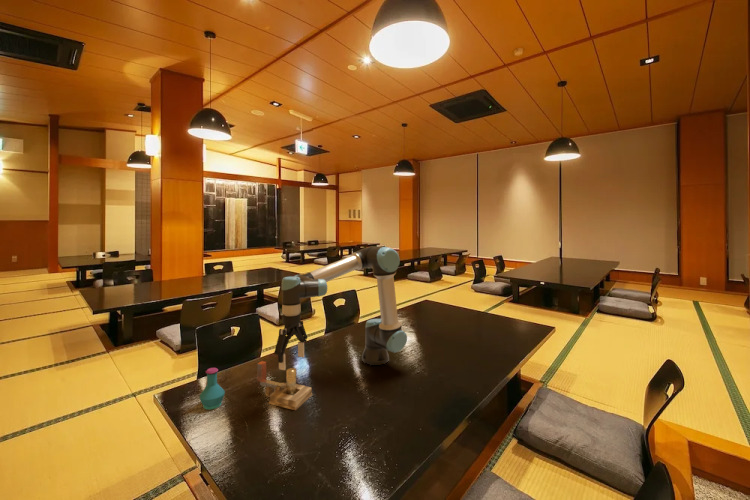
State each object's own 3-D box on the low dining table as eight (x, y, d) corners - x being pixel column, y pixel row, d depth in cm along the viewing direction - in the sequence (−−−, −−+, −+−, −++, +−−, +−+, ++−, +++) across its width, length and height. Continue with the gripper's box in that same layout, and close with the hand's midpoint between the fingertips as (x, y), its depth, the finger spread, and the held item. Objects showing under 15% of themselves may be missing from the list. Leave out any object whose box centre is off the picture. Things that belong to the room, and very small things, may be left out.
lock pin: (284, 387, 140) (284, 365, 140) (280, 390, 138) (280, 368, 137) (261, 381, 145) (261, 361, 144) (257, 384, 142) (257, 363, 141)
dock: (312, 394, 142) (312, 383, 141) (295, 410, 129) (295, 398, 129) (277, 387, 148) (277, 376, 148) (258, 401, 136) (258, 389, 135)
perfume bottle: (217, 396, 139) (216, 362, 138) (229, 403, 133) (229, 368, 132) (195, 406, 131) (194, 370, 130) (207, 414, 126) (206, 376, 125)
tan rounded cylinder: (297, 396, 139) (298, 368, 138) (292, 400, 135) (292, 372, 134) (290, 394, 140) (290, 367, 139) (284, 398, 137) (284, 371, 136)
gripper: (300, 305, 148) (301, 350, 150) (264, 320, 125) (265, 373, 127) (314, 307, 146) (315, 353, 147) (280, 323, 122) (281, 377, 124)
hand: (292, 362), depth 137 cm, fingers open, 13 cm apart
